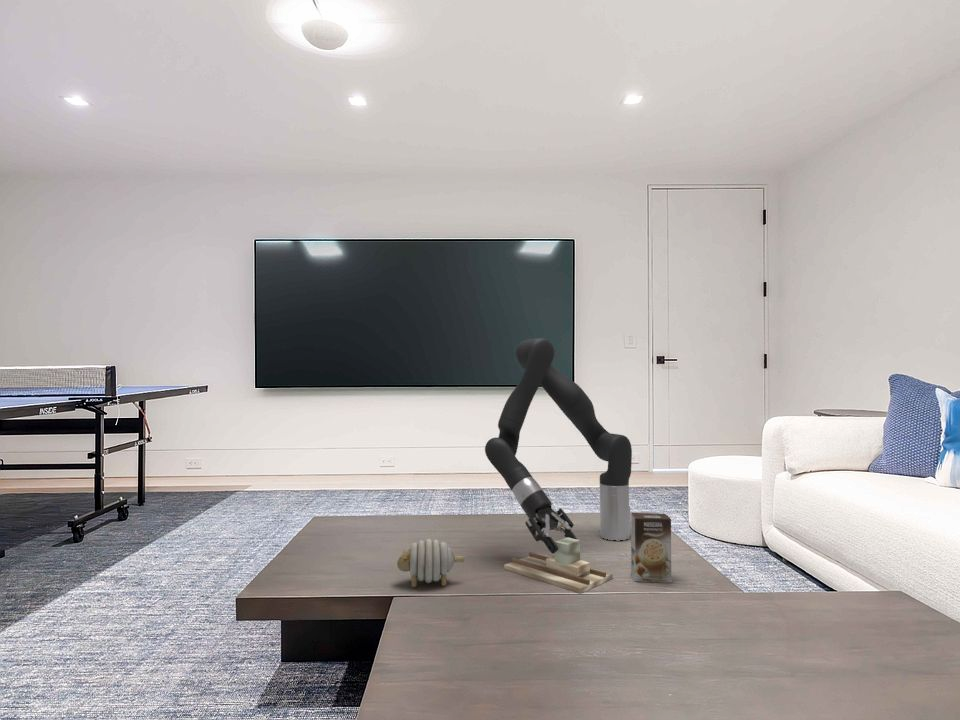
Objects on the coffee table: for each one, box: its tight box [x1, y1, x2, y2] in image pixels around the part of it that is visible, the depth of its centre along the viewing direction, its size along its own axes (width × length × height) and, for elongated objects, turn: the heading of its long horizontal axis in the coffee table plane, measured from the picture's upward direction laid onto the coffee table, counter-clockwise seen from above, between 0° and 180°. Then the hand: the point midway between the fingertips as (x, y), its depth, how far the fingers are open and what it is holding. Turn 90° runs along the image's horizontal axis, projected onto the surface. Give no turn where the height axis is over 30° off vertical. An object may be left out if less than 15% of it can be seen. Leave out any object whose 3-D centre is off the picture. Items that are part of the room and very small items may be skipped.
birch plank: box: [503, 551, 614, 594], centre depth 150 cm, size 14×25×2 cm, turn 45°
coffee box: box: [630, 512, 673, 584], centre depth 147 cm, size 9×6×16 cm
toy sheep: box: [396, 538, 465, 588], centre depth 144 cm, size 11×17×11 cm, turn 100°
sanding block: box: [546, 537, 591, 578], centre depth 148 cm, size 6×10×8 cm, turn 45°
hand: (565, 547), depth 149 cm, fingers open, 8 cm apart
